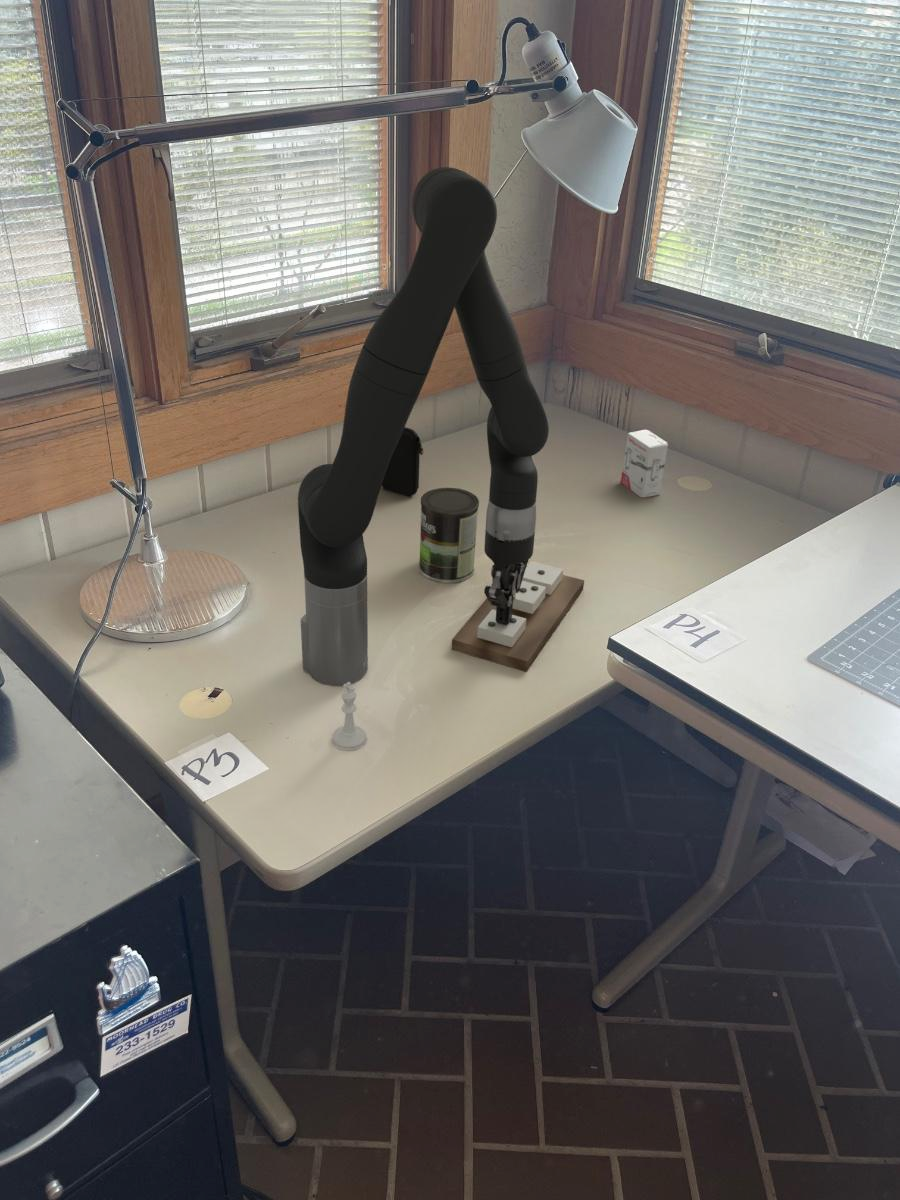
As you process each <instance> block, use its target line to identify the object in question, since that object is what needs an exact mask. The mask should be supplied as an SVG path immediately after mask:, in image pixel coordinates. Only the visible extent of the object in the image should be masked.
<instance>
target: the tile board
mask: <svg viewBox="0 0 900 1200" xmlns="http://www.w3.org/2000/svg"><path fill="white" fill-rule="evenodd" d="M527 566H528V565H527ZM527 566H526V567H527ZM584 585H585V579H581V578H577V577H574V576H570V575H565V574H563V576H562V580H561V581H560V583H559V584H558V585H557V587H556V588H555V589H554V591H553V592H552V594H551V595H549V594H545V598H544V599H543V601H542V602H541V603H540V605H539V606H538V607H537V609H536V610H535V611H534V613H533V614H531V613H527V612H523V611H520V610H516V609H512V615H515V616H519V617H522V618H526V628H525V630H524V632H523V633H522V634H521V636H520V637H519V638H518V640H517V641H516V642H515V644H514V645H513V646H512V647H508V646H505V645H502V644H498V643H495V642H491V641H488V640H484V639H481V638H477V631H478V626H479V625H480V624H481V622H482V621H483V620H484V619H485V618H486V616H487V615H488V614H489V613H490V611H491V610H492V609H493V610H496V607H497V606H493V605H491V604H490V602H489V601H488V599H487V597H486V598H485V599H484V601H483V602H482V603H481V604H480V605H479V606H478V608H477V609H476V610H474V611H475V612H473V614H472V615H471V616H470V617H469V618H468V620H467V621H466V622H465V623H464V625H463V626H462V627H461V628H460V629H459V630H458V632H456V634H455V635H454V636H453V637H452V639H451V651H454V652H458V653H461V654H465V655H469V656H472V657H476V658H478V659H481V660H485V661H489V662H492V663H494V664H495V663H496V664H498V665H501V666H505V667H509V668H513V669H516V670H518V671H522V672H526V673H527V672H528V671H529V669H530V668H531V667H532V665H533V664H534V662H535V660H536V659H537V658H538V657H539V655H540V653H541V652H542V650H543V649H544V648H545V646H546V645H547V643H548V642H549V640H550V639H551V637H552V636H553V634H554V633H555V632H556V630H557V629H558V627H559V626H560V624H561V623H562V621H563V620H564V619H565V617H566V615H567V614H568V613H569V611H570V610H571V608H572V606H573V605H574V604H575V602H576V601H577V600H578V598H579V597H580V595H581V594H582V592H583V591H584Z"/></svg>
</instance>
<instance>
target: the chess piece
mask: <svg viewBox="0 0 900 1200" xmlns="http://www.w3.org/2000/svg"><path fill="white" fill-rule="evenodd" d="M342 688H343V689H345V690H344V691H343V692H341V698H342V700H343V704H342V706H341V712H343V713H344V715H345V716H344V723H343V726H340V727H337V728H336V729H335V730H334V731H333V733H332V739H331V742H332V744H333V746H334V747H336V748H338V750H341V751H346V752H349V751H350V752H353V751H356V750H359V749H361V748H363V747H364V746H366V744H367V742H368V737H367V733H366V730H364V728H362V727H361V726H357V725H355V718H354V713H355V712H356V711H357V710H358V708H357V705H356V704H355V700H356V697H357V693H356V692H355V688H354V687H353V686H352V683H350V682H347V683H346V684H344V685H342Z"/></svg>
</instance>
